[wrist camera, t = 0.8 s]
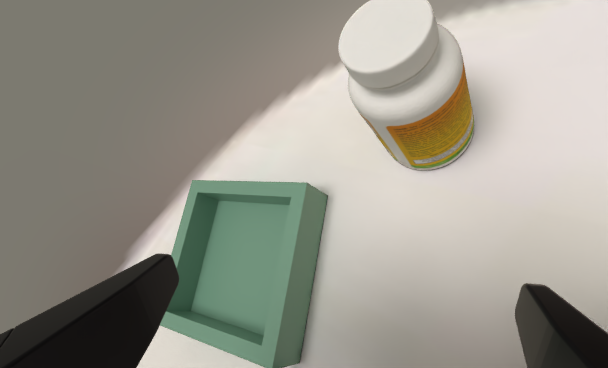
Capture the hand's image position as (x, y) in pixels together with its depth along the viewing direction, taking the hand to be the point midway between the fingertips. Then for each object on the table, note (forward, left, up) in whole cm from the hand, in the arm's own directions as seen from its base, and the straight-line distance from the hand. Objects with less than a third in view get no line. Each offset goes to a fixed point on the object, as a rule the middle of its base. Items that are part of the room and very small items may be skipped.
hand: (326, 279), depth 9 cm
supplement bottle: (+10, +1, -12) cm, 16 cm away
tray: (0, +13, -12) cm, 18 cm away
